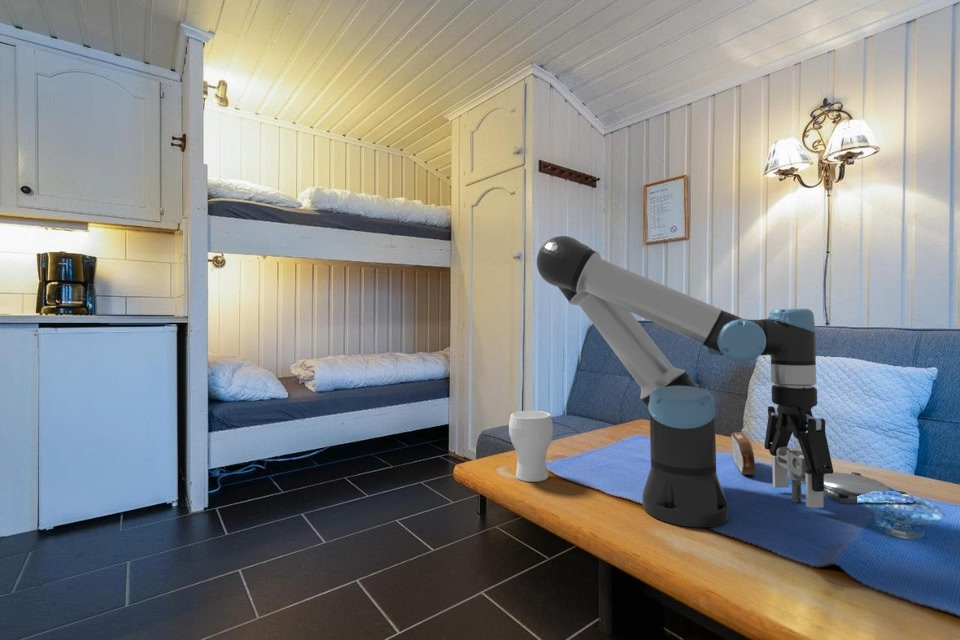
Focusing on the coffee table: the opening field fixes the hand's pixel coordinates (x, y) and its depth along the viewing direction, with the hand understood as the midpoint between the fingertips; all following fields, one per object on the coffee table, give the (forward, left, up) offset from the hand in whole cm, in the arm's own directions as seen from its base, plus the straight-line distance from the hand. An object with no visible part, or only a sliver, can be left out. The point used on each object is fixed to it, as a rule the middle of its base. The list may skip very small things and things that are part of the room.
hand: (796, 496), depth 89 cm
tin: (0, +20, -1) cm, 20 cm away
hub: (+15, +6, -1) cm, 16 cm away
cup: (-52, +16, -1) cm, 54 cm away
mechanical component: (0, 0, -1) cm, 1 cm away
